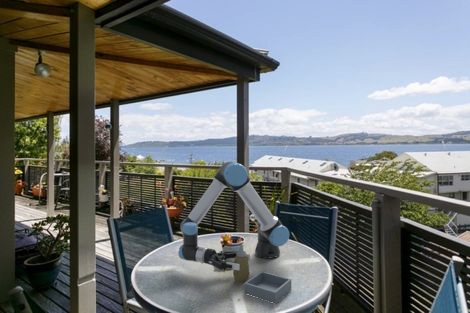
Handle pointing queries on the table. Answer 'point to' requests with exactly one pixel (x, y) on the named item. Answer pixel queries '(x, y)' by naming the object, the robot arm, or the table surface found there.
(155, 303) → the table surface
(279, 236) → the robot arm
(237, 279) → the squeeze bottle
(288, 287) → the bin
